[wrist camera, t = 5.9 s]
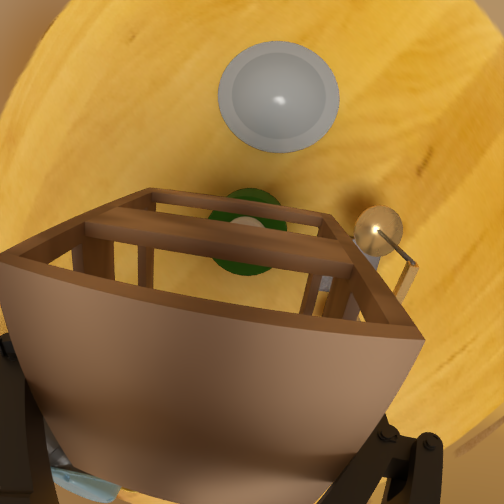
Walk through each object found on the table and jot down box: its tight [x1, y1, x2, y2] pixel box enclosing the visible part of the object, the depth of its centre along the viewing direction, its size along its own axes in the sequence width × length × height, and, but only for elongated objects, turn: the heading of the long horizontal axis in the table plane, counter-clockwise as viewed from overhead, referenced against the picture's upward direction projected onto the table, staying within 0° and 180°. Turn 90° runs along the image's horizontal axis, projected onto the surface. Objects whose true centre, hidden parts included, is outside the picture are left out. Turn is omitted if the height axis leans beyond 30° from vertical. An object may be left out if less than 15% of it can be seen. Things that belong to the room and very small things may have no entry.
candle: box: [208, 188, 287, 276], centre depth 30 cm, size 8×8×10 cm
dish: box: [218, 41, 339, 153], centre depth 29 cm, size 13×13×1 cm
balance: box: [319, 205, 419, 321], centre depth 28 cm, size 7×18×16 cm, turn 172°
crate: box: [0, 188, 425, 504], centre depth 14 cm, size 12×12×13 cm
